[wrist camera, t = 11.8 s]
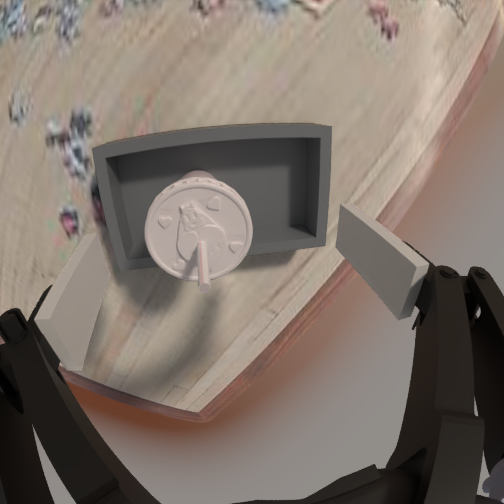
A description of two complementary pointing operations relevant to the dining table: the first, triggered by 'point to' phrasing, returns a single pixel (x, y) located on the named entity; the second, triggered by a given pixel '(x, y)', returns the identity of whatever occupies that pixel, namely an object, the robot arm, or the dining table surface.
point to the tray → (227, 171)
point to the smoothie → (198, 229)
